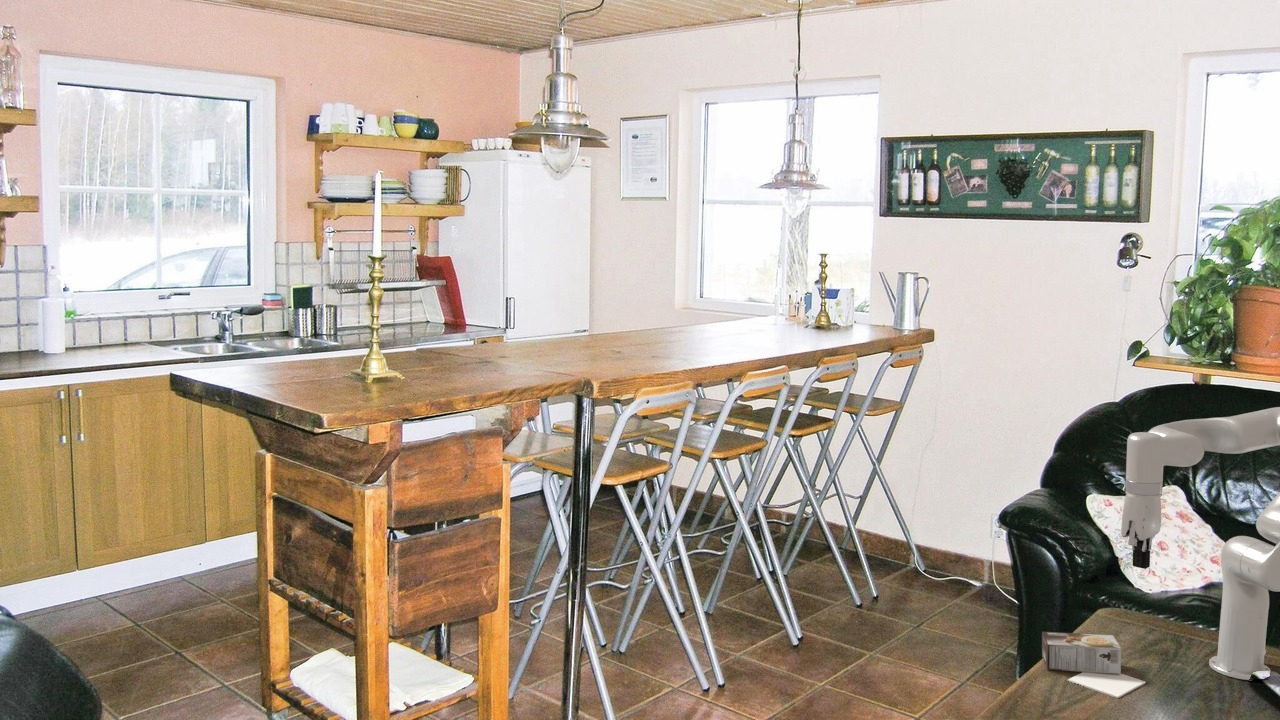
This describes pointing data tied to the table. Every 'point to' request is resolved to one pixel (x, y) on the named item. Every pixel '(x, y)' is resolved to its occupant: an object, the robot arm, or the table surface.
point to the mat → (1107, 683)
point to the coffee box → (1081, 652)
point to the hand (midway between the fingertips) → (1140, 566)
